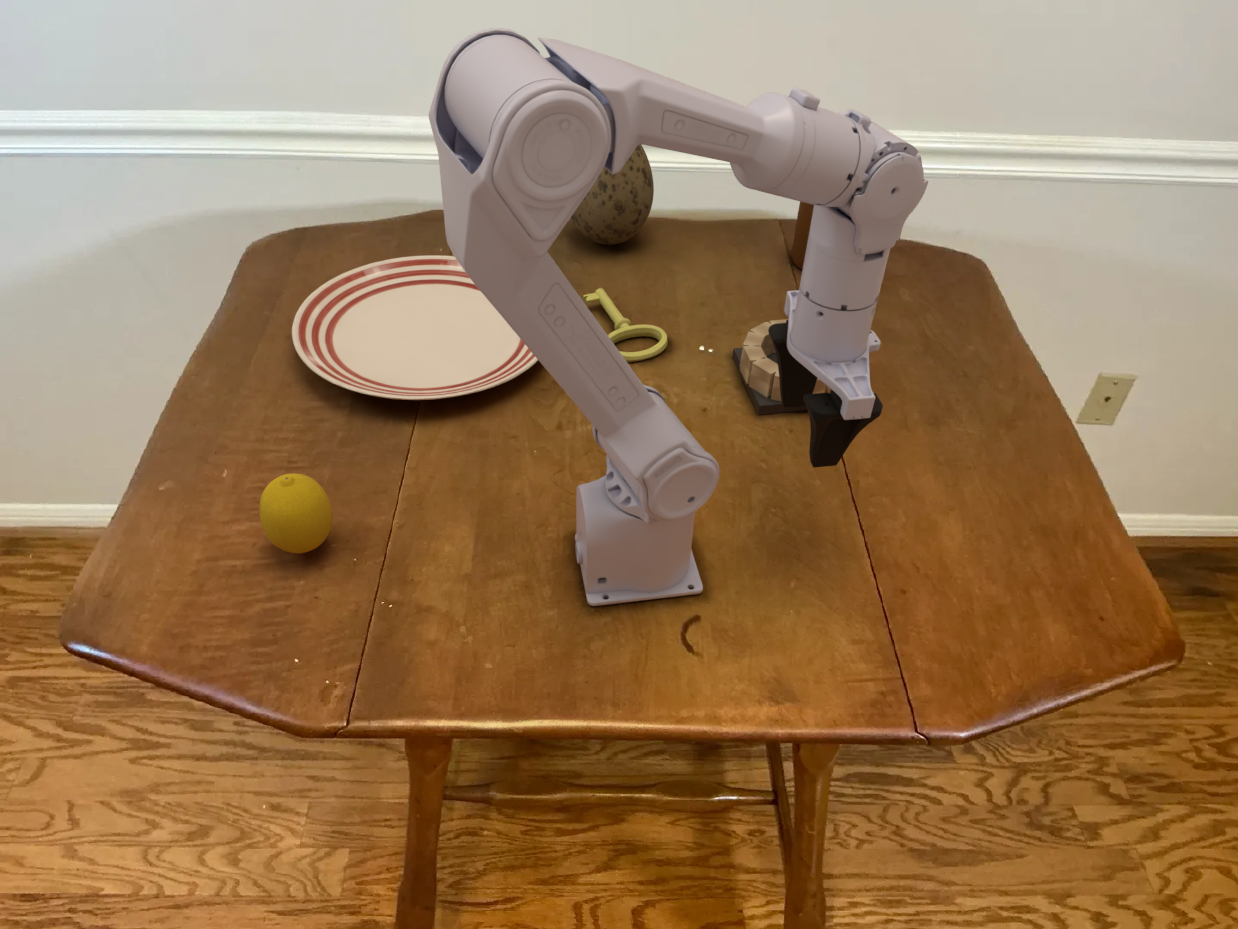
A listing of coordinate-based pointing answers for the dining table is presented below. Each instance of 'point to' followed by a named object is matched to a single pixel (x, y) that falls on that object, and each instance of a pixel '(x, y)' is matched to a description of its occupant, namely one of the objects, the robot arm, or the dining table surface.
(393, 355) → the dinner plate
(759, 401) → the peg stand
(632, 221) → the decorative egg
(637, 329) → the key
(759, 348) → the ring
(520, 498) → the dining table surface
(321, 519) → the lemon
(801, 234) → the mug
